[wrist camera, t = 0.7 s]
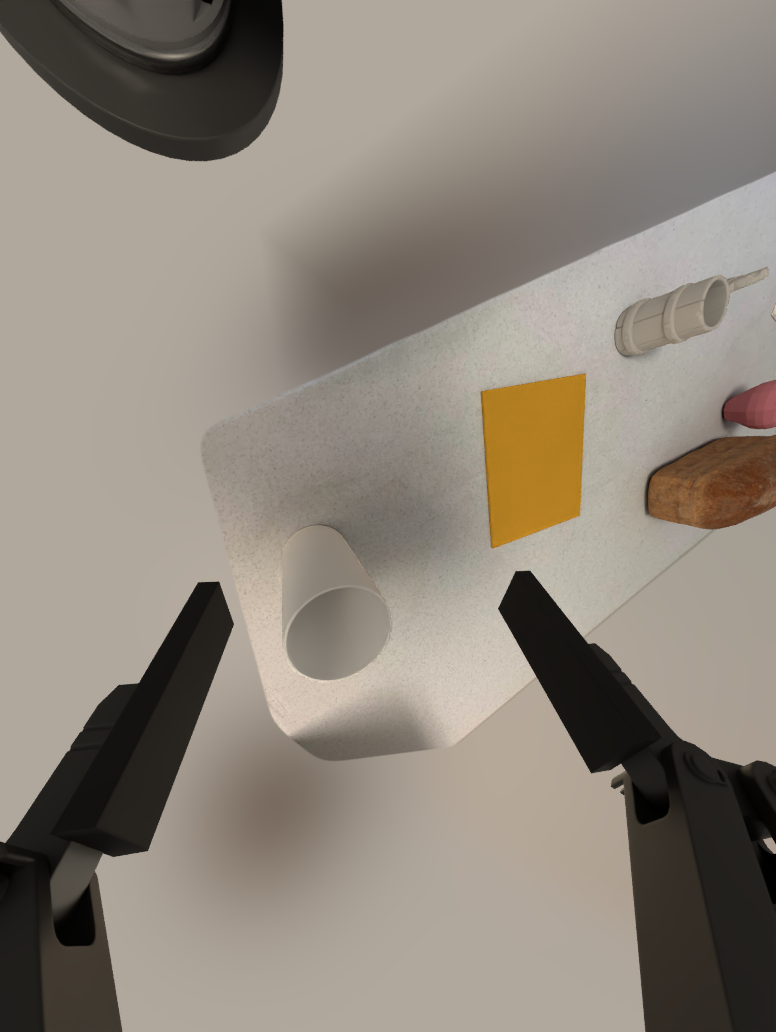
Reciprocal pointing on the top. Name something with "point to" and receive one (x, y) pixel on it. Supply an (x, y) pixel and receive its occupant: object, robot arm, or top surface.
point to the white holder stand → (774, 313)
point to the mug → (678, 313)
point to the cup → (329, 608)
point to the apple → (754, 407)
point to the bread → (717, 483)
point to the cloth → (533, 455)
